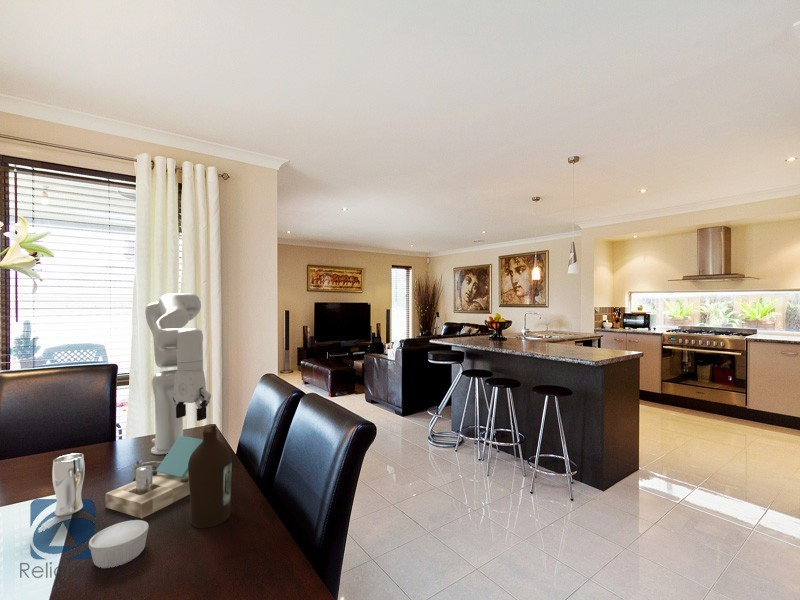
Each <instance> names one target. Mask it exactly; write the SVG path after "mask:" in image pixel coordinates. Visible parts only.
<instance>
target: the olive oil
mask: <svg viewBox="0 0 800 600" xmlns="http://www.w3.org/2000/svg"><path fill="white" fill-rule="evenodd" d="M202 427H203V428H202V429H203V431H202V439H203V441H202V442H201V444H200V445H199V446H198V447H197V448H196V449H195V450H194V452H193V453H192V454H191V456H190V459H189V462H188V475H189V488H190V494H189V500H190V503H189V504H190V519H191V520H190V521H191V526H193V527H194V528H197V529H208V528H213V527H216V526H219V525H221V524H222V523H224V522H226V521H227V520H228V519H229V518H230V516H231V500H232V499H231V497H232V496H231V495H232V493H231V492H232V470H233V469H232V466H233V465H232V464H233V457H232V456H233V455H232V453H231V450H230V449H229V447H228V446H227V445H226V444H224V443H223V442H222V441H221V440H219V439H218V436H217V435H218V430H217V424H215V423H209V424H205V425H203V426H202Z"/></svg>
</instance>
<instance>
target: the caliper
mask: <svg viewBox="0 0 800 600" xmlns="http://www.w3.org/2000/svg"><path fill="white" fill-rule="evenodd" d="M162 461H163V460H162ZM162 461H161V460H160V461H157V460H153V461H147V462H143V460H142V459H141V460H136V463H135V464H133V468H132V480H133V481H136V469H137V468H139V467H142V466H148V465H150V466H152V470H154V471H156V470H157V468H158V467H159V465H160V464H161V462H162Z"/></svg>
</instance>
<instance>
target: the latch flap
mask: <svg viewBox="0 0 800 600" xmlns="http://www.w3.org/2000/svg"><path fill="white" fill-rule="evenodd" d="M202 441H203V438H198V437H197V438H196V437H190V436H185V435H183V436H179V437H178V439H177V440H176V442H175V443H174V445H173V446H172V448H171V449H170V451H169V452H168V454H165V457H164V458H162V459H163V460H162V462H161V464H160V465H159V467H156V469H155V471H157V472H159V473H163V474H168V475H172V476H176V477H181V478H182V477H185V476H186V474H187V472H188V462H189V459H190V456H191V454H192V453H193V452H194V450H195V449H196V448H197V447H198V446H199V445H200V444H201V442H202Z"/></svg>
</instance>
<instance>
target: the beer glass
mask: <svg viewBox="0 0 800 600" xmlns="http://www.w3.org/2000/svg"><path fill="white" fill-rule="evenodd" d="M85 468H86V467H85V460H84V454H83V453H82V452H81V453H80V452H79V453H70V454H64V455H62V456H59V457H56V458H54V459H53V460H52V471H51V472H52V473H51V475H52V477H51V479H52V485H53V490H54V494H55V498H56V505H55V506H56V507H55V509H54V515H55V516H56V517H66V516H69V515H72V514H75V513H77V512H79V511H81V510H82V509H83V508H84V504H83V500H82V491H83V490H82V489H83V483H84V478H85Z"/></svg>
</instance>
